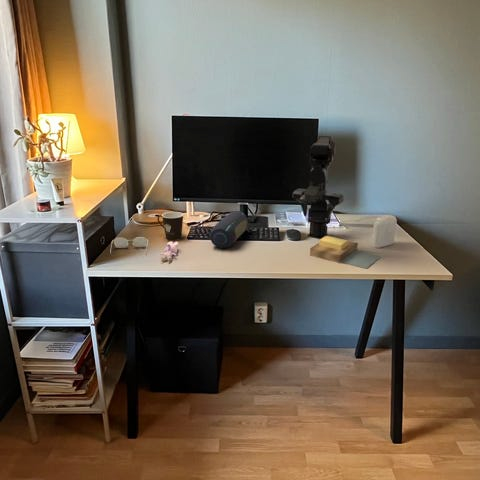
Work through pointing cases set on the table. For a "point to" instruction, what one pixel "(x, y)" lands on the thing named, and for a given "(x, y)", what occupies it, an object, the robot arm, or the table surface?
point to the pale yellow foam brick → (333, 242)
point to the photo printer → (384, 231)
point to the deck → (333, 252)
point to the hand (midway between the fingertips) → (316, 217)
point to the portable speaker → (229, 229)
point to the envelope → (357, 220)
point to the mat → (361, 259)
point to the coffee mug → (172, 225)
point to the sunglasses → (124, 242)
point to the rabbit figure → (169, 251)
